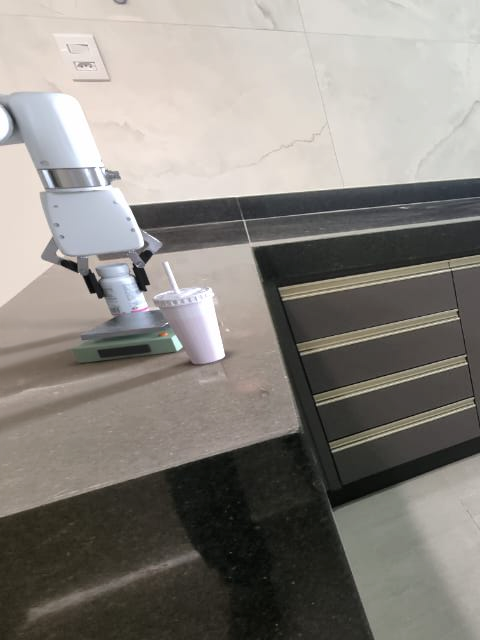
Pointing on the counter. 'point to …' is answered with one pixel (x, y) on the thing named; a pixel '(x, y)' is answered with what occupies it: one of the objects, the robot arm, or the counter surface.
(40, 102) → the robot arm
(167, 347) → the scale
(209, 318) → the smoothie
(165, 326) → the pan
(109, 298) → the pill bottle
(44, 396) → the counter surface
